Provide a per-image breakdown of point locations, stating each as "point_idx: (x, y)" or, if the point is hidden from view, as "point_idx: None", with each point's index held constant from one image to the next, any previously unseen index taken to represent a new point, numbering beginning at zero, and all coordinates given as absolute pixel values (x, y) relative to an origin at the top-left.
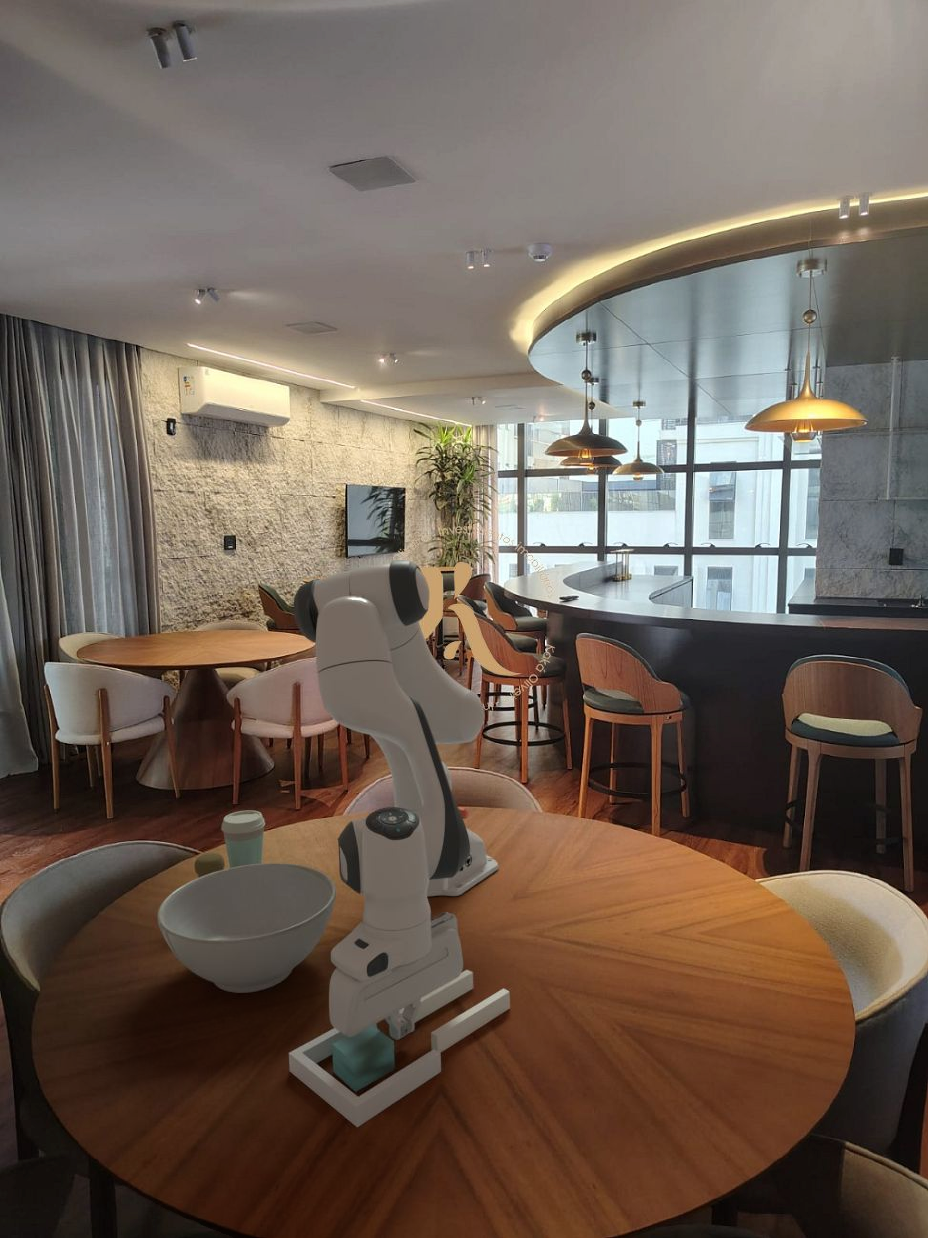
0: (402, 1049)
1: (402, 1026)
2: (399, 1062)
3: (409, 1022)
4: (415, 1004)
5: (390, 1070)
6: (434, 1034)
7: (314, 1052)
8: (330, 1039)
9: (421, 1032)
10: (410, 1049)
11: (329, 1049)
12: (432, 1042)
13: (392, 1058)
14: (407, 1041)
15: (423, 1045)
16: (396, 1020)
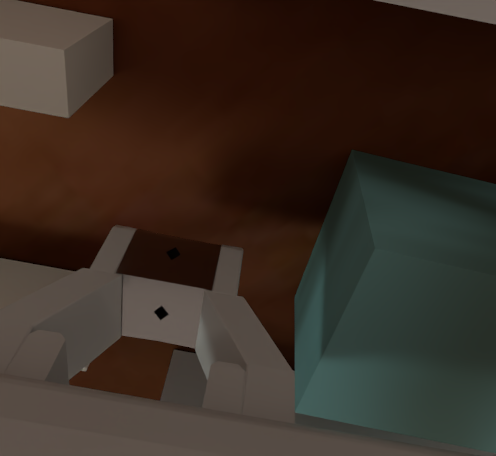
0: (205, 206)
1: (195, 286)
2: (292, 162)
3: (132, 274)
4: (28, 347)
5: (379, 160)
6: (62, 84)
7: None
8: None
9: (53, 206)
10: (180, 176)
11: None
12: (92, 84)
13: (375, 187)
14: (146, 220)
15: (113, 141)
16: (241, 348)
